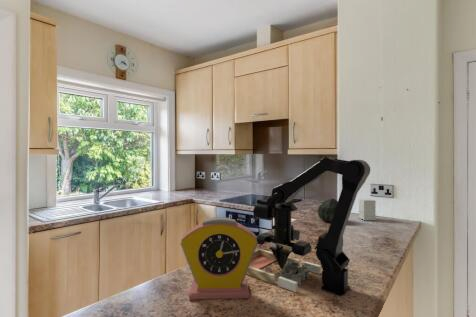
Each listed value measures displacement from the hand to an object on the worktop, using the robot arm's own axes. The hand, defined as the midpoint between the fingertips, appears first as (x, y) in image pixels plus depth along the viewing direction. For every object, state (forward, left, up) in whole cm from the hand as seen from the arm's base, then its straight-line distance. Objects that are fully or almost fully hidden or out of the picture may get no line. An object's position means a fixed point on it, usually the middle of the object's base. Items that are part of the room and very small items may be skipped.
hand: (282, 268), depth 94 cm
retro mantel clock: (+7, +23, -2) cm, 24 cm away
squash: (+17, -83, -2) cm, 85 cm away
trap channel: (+7, 0, -2) cm, 7 cm away
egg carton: (-5, 0, -2) cm, 5 cm away
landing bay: (-7, 0, -2) cm, 7 cm away
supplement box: (+2, -102, -2) cm, 102 cm away
